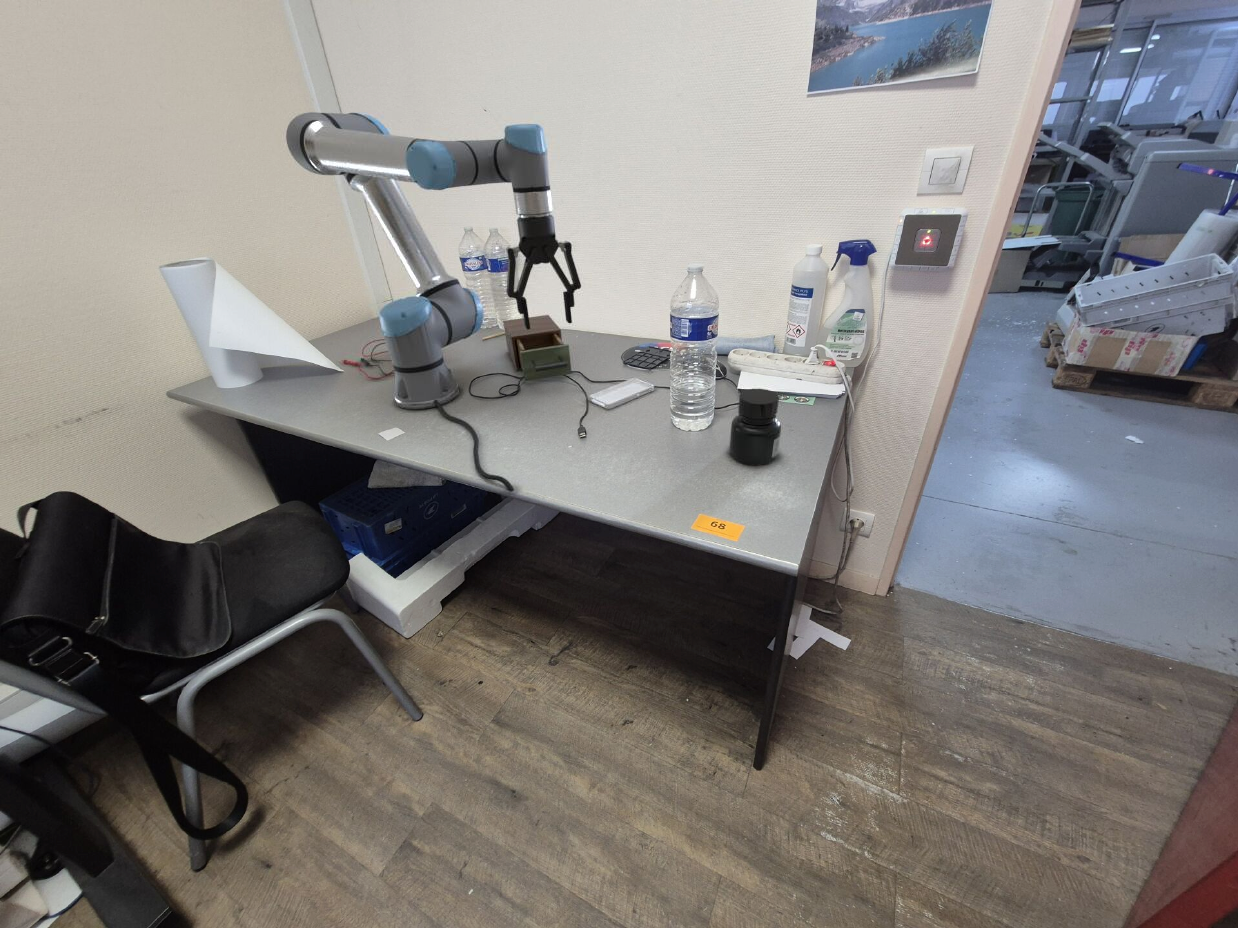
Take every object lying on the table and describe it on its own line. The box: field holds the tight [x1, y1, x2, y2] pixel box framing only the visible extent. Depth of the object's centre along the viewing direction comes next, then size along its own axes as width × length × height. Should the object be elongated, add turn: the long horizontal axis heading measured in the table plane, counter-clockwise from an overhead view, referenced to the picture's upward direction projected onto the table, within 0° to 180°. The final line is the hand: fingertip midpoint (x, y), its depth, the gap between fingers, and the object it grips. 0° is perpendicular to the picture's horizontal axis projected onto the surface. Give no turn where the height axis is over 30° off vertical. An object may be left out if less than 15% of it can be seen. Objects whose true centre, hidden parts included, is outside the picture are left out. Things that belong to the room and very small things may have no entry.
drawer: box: [515, 333, 572, 383], centre depth 133 cm, size 22×12×8 cm, turn 19°
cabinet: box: [502, 314, 563, 372], centre depth 145 cm, size 17×14×10 cm
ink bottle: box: [729, 388, 782, 466], centre depth 92 cm, size 10×9×12 cm
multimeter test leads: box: [339, 338, 395, 380], centre depth 149 cm, size 23×4×25 cm
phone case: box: [588, 377, 655, 410], centre depth 121 cm, size 7×1×15 cm
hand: (548, 324), depth 115 cm, fingers open, 9 cm apart
